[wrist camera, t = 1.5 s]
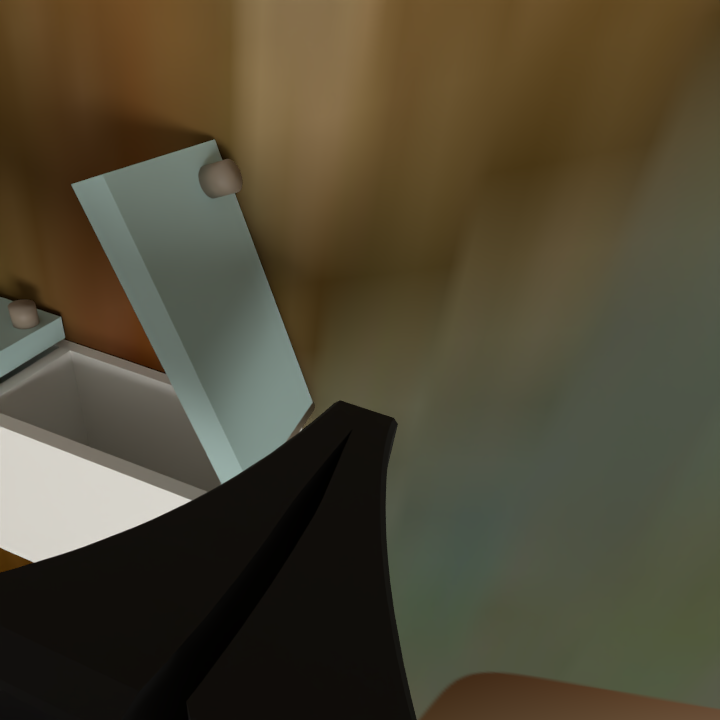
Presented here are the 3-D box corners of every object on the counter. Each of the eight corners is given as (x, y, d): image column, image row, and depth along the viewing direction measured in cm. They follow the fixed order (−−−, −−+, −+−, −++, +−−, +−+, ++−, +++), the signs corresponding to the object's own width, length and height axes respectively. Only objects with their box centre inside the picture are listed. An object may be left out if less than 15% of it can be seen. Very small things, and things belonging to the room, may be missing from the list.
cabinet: (289, 549, 25) (235, 650, 21) (-22, 427, 28) (-121, 494, 24) (307, 376, 19) (237, 469, 15) (-85, 250, 22) (-229, 298, 18)
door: (296, 413, 20) (228, 509, 16) (191, 146, 16) (63, 186, 12) (338, 411, 19) (278, 511, 15) (240, 131, 15) (122, 168, 11)
